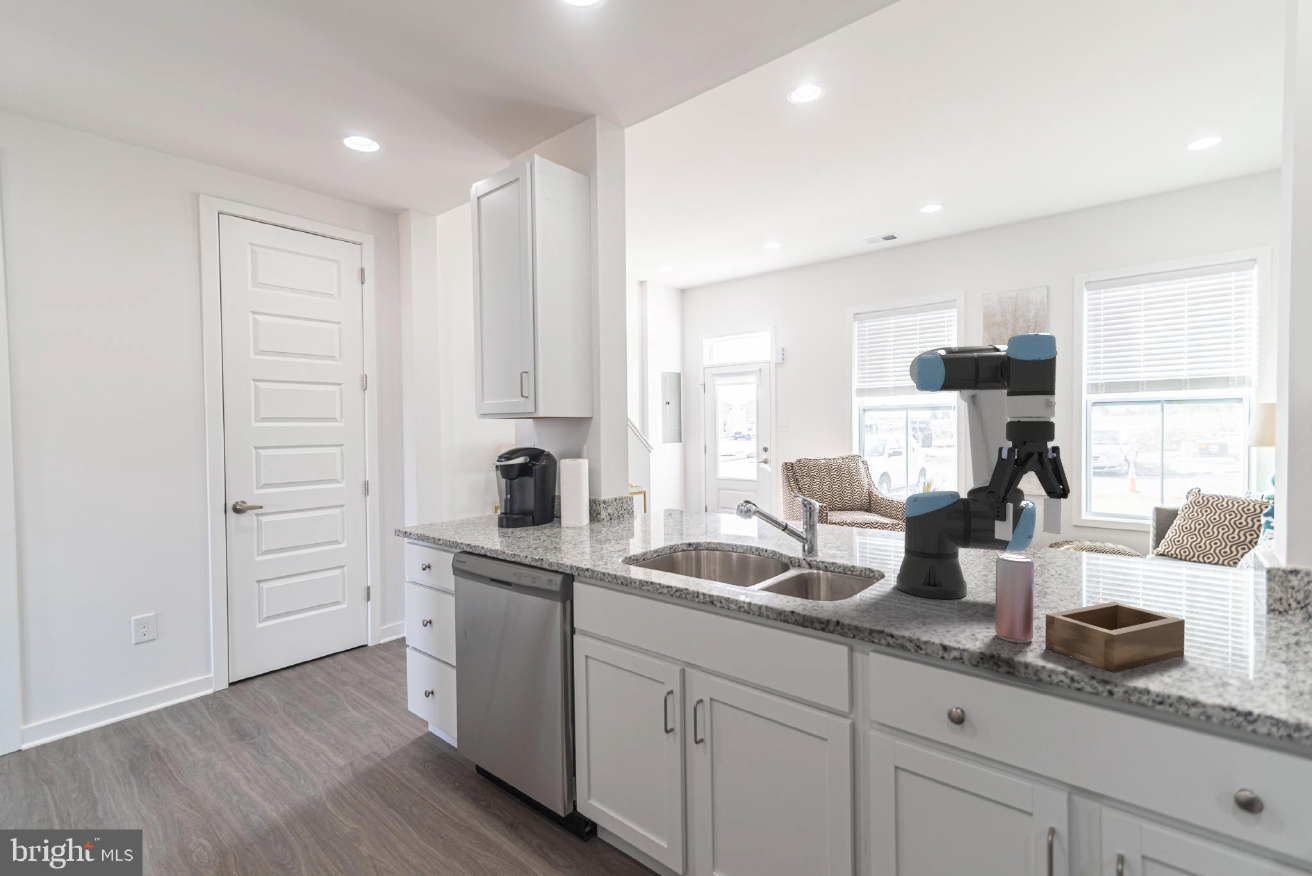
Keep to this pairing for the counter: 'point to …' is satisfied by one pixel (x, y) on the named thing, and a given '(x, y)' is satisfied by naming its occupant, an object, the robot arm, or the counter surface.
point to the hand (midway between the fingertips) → (1028, 536)
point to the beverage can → (1014, 598)
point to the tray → (1115, 635)
